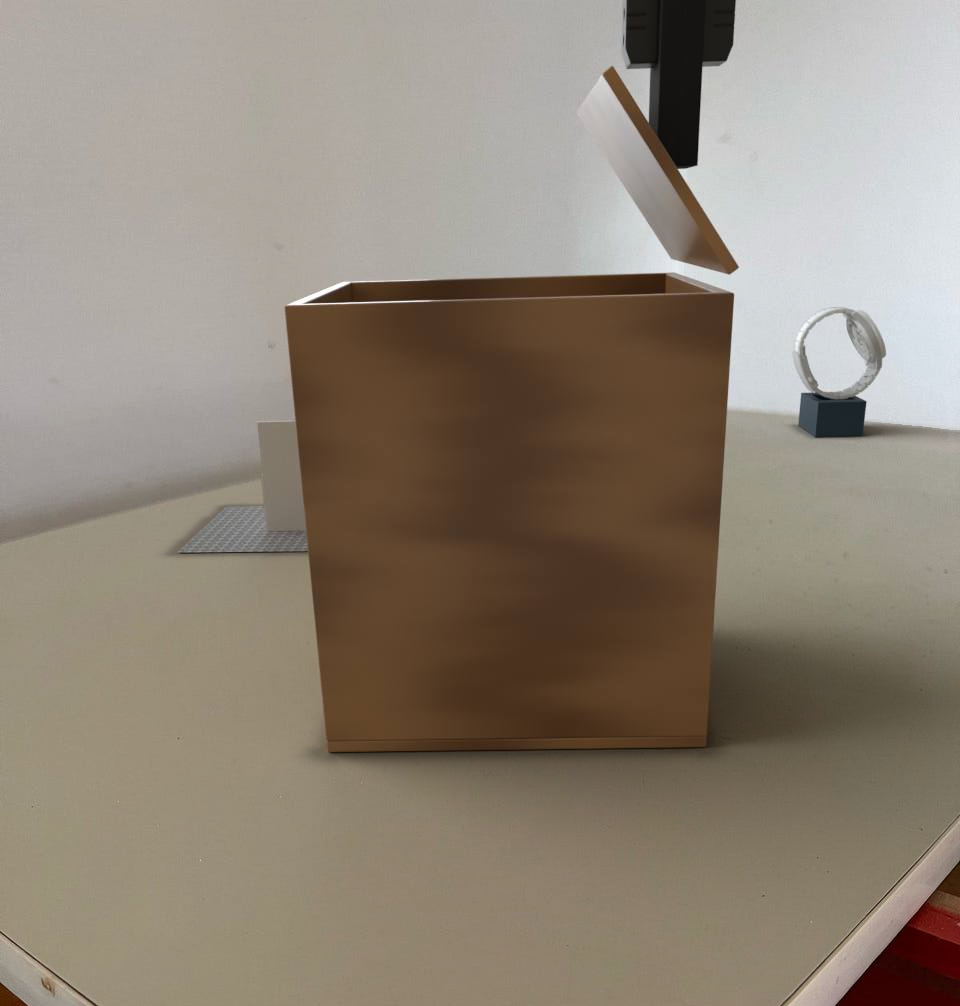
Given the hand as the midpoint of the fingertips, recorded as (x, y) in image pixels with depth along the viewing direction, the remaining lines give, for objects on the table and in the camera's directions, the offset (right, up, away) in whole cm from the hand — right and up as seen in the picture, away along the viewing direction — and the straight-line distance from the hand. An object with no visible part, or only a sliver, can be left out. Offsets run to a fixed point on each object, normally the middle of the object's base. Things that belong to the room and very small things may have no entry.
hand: (671, 167), depth 38 cm
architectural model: (-19, -10, +33) cm, 39 cm away
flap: (-1, -1, 0) cm, 1 cm away
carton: (-6, -20, +8) cm, 22 cm away
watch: (+26, +2, +58) cm, 64 cm away
